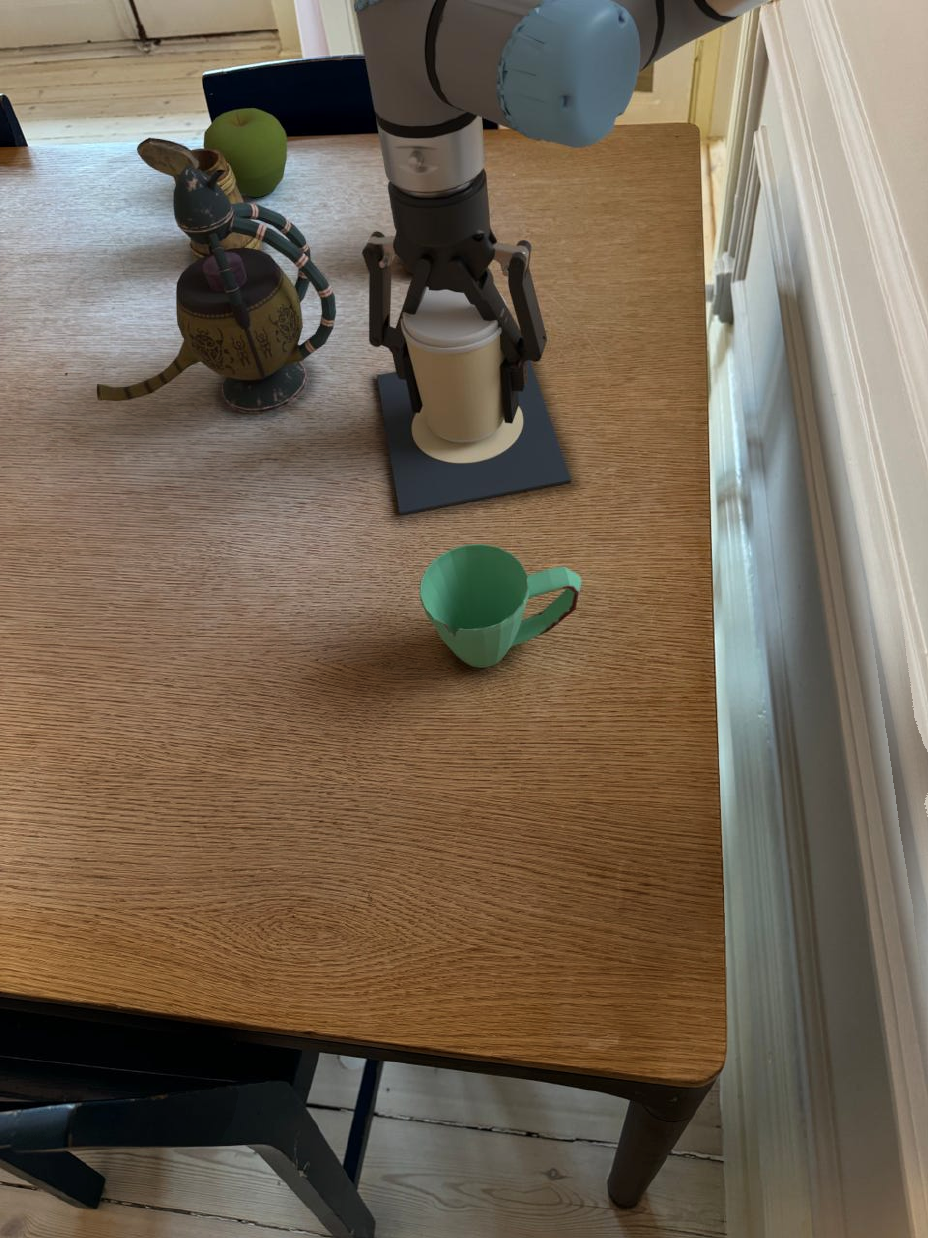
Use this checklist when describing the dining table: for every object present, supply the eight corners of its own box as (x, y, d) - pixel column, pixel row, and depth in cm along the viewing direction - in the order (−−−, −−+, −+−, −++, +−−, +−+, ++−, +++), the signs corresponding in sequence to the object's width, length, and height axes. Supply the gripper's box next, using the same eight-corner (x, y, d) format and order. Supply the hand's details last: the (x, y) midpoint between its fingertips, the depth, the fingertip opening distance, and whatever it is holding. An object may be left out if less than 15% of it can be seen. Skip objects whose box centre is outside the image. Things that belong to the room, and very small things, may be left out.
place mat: (571, 482, 78) (571, 478, 78) (400, 515, 78) (399, 511, 78) (526, 349, 90) (525, 345, 90) (377, 378, 90) (376, 374, 89)
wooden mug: (173, 294, 103) (107, 140, 88) (205, 231, 110) (149, 80, 96) (243, 293, 101) (188, 136, 87) (270, 229, 109) (224, 75, 94)
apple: (204, 200, 115) (177, 123, 107) (257, 163, 119) (235, 86, 111) (261, 219, 111) (237, 140, 102) (314, 181, 115) (295, 102, 107)
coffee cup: (529, 394, 84) (524, 285, 74) (490, 458, 79) (480, 351, 69) (444, 375, 87) (428, 267, 77) (402, 436, 82) (380, 329, 72)
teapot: (360, 391, 89) (305, 167, 70) (124, 469, 85) (-1, 255, 66) (329, 328, 96) (271, 108, 77) (110, 398, 92) (-8, 185, 73)
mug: (440, 698, 66) (426, 640, 60) (427, 616, 71) (412, 554, 64) (591, 670, 67) (594, 608, 60) (568, 590, 71) (568, 525, 65)
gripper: (287, 193, 64) (349, 422, 83) (566, 207, 59) (566, 448, 78) (322, 143, 68) (374, 372, 87) (586, 153, 63) (582, 393, 82)
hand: (465, 408), depth 82 cm, fingers closed on coffee cup, 8 cm apart
